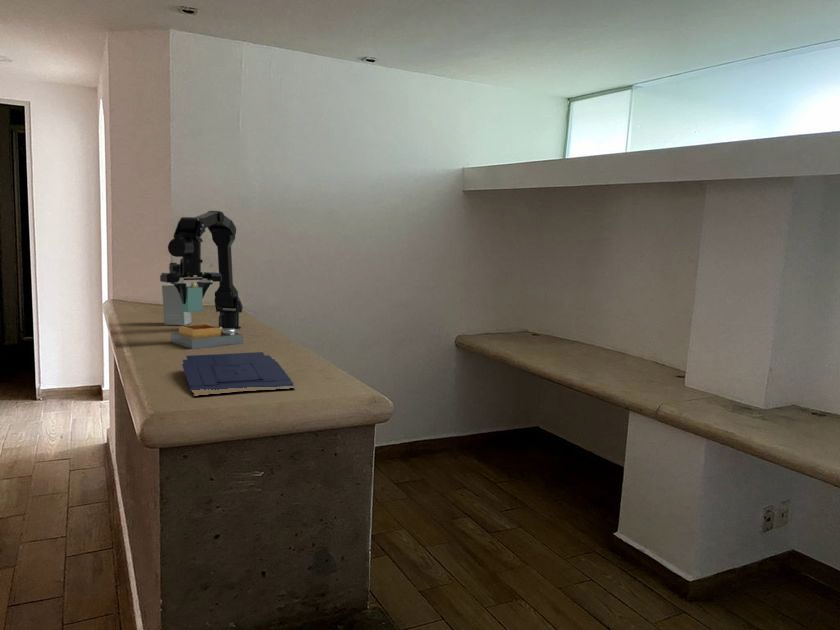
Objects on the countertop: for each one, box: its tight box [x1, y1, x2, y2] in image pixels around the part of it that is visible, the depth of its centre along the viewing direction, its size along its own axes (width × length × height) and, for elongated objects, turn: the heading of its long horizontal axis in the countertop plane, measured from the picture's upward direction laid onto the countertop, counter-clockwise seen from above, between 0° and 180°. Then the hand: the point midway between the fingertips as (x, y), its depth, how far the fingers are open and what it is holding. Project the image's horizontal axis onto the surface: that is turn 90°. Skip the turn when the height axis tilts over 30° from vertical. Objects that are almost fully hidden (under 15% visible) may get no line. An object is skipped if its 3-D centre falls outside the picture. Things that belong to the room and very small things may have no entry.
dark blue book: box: [181, 351, 295, 391], centre depth 167 cm, size 24×30×4 cm
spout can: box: [181, 282, 203, 313], centre depth 214 cm, size 5×5×10 cm
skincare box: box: [161, 282, 192, 326], centre depth 249 cm, size 8×7×16 cm
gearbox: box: [170, 323, 244, 350], centre depth 215 cm, size 18×15×6 cm
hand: (191, 303), depth 214 cm, fingers closed on spout can, 5 cm apart
